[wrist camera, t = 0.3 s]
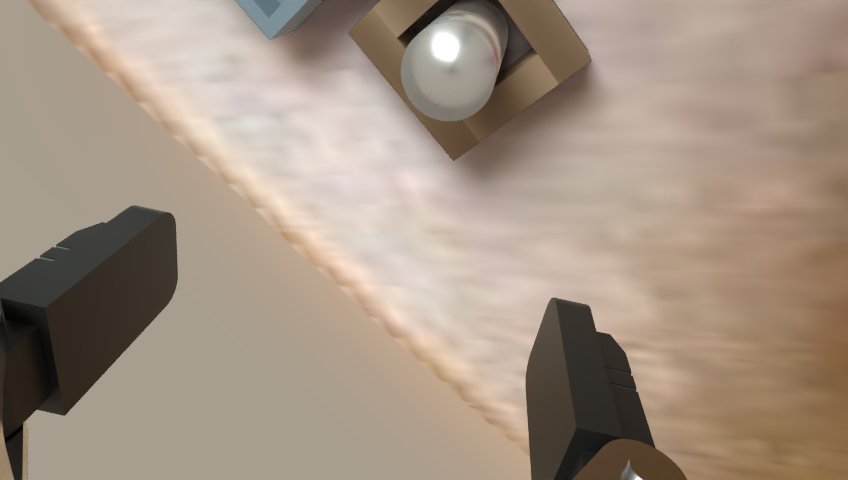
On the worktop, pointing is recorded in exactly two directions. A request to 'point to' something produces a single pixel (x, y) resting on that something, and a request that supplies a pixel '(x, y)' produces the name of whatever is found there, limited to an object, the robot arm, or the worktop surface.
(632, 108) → the worktop surface
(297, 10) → the parts tray
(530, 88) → the socket block
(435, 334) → the worktop surface
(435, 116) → the pin
